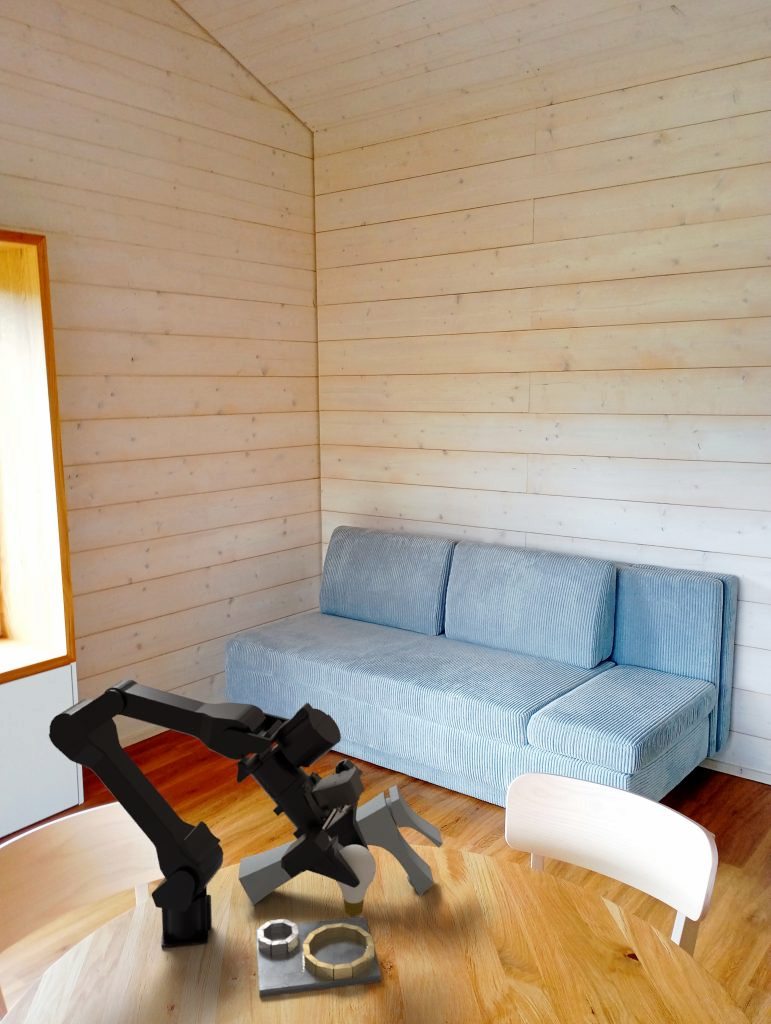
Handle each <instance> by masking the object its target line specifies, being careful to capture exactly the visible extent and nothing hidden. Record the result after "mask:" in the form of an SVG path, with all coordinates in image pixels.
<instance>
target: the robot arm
mask: <svg viewBox="0 0 771 1024" xmlns="http://www.w3.org/2000/svg"><path fill="white" fill-rule="evenodd" d="M118 715H119V716H124V717H128V718H129V719H134V720H137V721H141V722H144V723H147V724H150V725H154V726H157V727H161V728H165V729H168V730H171V731H175V732H179V733H181V734H185V735H189V736H191V737H194V738H196V739H198V740H200V742H202V744H204V746H205V747H206V748H208V750H209V751H212V752H213V753H214V752H215V753H217V754H218V755H220V756H223V757H225V758H226V759H229V760H233V761H237V772H236V773H237V774H236V782H237V783H239V784H240V783H242V782H243V781H245V780H246V779H247V778H248V777H249V776H251V777H252V778H253V779H254V780H255V781H256V783H257V784H258V785H259V786H260V787H261V788H262V790H263V791H264V792H265V794H267V796H268V797H269V798H270V799H271V800H272V801H273V802H274V803H275V804H276V805H275V807H274V808H273V809H272V812H274V814H275V815H276V817H279V816H280V815H281V814H282V813H283V814H284V815H285V816H286V817H287V819H288V820H289V821H290V822H291V824H292V825H293V826H294V827H295V830H294V831H293V833H292V835H293V836H294V837H295V840H296V839H297V840H296V841H295V842H293V843H292V844H291V845H290V846H289V848H288V849H287V851H286V852H285V854H284V855H283V857H282V858H281V868H282V869H283V870H284V871H285V873H286V874H287V875H288V876H289V877H290V879H291V880H292V879H294V878H296V877H297V876H298V875H297V874H299V873H300V872H301V871H302V873H305V872H307V871H308V872H311V873H314V874H316V875H317V874H318V875H321V876H323V877H326V878H329V879H331V880H334V881H335V882H336V881H338V882H341V883H343V884H346V885H348V886H351V887H353V888H355V887H357V886H358V885H359V884H360V881H359V879H358V878H357V876H356V874H355V873H354V871H353V870H352V869H351V867H350V866H349V864H348V863H347V862H346V860H345V859H344V857H343V856H342V855H341V853H340V852H339V850H338V843H339V844H340V845H341V846H343V847H346V846H349V845H361V846H363V847H365V848H367V849H368V850H369V851H370V849H369V847H368V846H369V845H367V844H366V842H365V840H364V837H363V835H362V833H361V831H360V828H359V826H358V823H357V820H356V812H357V808H358V805H359V800H361V795H362V793H364V792H365V790H366V788H365V786H364V783H363V781H362V779H361V778H362V775H363V774H364V773H363V771H362V770H361V769H360V768H359V767H358V765H356V764H355V763H353V762H352V761H351V759H349V758H347V757H346V758H344V759H342V760H341V759H340V760H339V761H338V762H337V764H336V765H335V771H334V772H332V773H330V775H329V776H326V777H324V778H322V777H321V776H320V775H319V773H318V772H314V771H311V772H310V773H309V774H308V773H307V771H305V770H304V768H309V767H312V766H313V765H314V764H315V763H316V762H317V761H318V760H319V759H321V758H322V757H323V756H325V754H327V753H328V752H330V751H331V750H332V749H333V748H334V747H336V745H338V744H339V743H340V742H341V738H342V733H341V731H340V728H339V726H338V724H337V723H336V721H335V720H334V719H333V717H332V716H331V715H330V714H327V713H326V712H325V711H322V710H321V709H319V708H314V707H312V705H311V704H310V703H308V702H306V703H305V704H303V705H302V706H301V707H300V708H299V710H298V711H297V712H295V714H294V715H293V716H292V717H291V718H290V719H289V718H286V717H282V716H278V715H274V714H272V713H271V714H270V713H267V712H264V710H263V709H261V707H258V706H257V705H254V704H250V703H241V702H240V703H239V702H221V703H210V702H209V703H207V702H203V701H200V700H198V699H197V700H196V699H194V698H190V697H186V696H183V695H179V694H176V693H172V692H168V691H165V690H161V689H158V688H154V687H151V686H147V685H144V684H139V683H138V682H137V681H135V680H133V679H122V680H120V681H119V682H117V683H115V684H114V685H112V686H111V687H109V688H107V689H106V690H105V691H104V692H103V694H101V695H99V696H98V697H96V698H94V699H93V698H84V699H81V700H80V701H78V702H76V703H75V704H74V705H71V706H70V707H69V708H67V709H66V710H63V711H62V712H60V713H59V714H56V716H54V717H53V719H52V720H51V722H50V724H49V733H48V737H49V738H48V739H49V740H50V742H51V743H52V745H53V746H54V747H55V748H56V750H58V751H59V752H60V753H62V755H64V756H65V757H66V758H67V759H68V760H69V761H70V762H73V763H76V764H79V765H81V766H84V767H86V768H88V769H90V770H91V771H92V772H93V773H94V774H95V775H96V776H97V778H99V780H100V781H101V783H102V784H103V785H104V787H106V788H107V790H108V791H109V792H110V794H111V795H112V796H113V797H114V798H115V800H116V801H117V802H118V803H119V805H120V806H121V807H122V808H123V809H124V810H125V812H126V813H127V814H128V815H129V817H130V818H131V820H133V821H134V823H135V824H136V825H137V826H138V827H139V828H140V830H141V831H142V833H143V834H144V835H145V836H146V838H147V839H149V841H150V842H151V843H152V844H153V847H154V848H155V851H156V856H157V857H156V858H157V860H158V866H159V870H160V872H161V874H162V875H163V877H164V879H163V880H162V881H161V882H160V883H159V884H158V886H157V887H155V889H154V890H153V891H152V892H151V897H152V901H153V903H154V905H155V907H156V908H160V909H161V922H162V923H161V925H162V926H161V927H162V935H161V942H160V944H161V947H162V948H163V949H164V948H165V949H166V948H172V947H173V948H174V947H180V946H181V947H182V946H188V945H189V946H190V945H197V944H198V945H201V944H206V943H208V942H209V932H211V931H212V928H213V926H212V925H213V915H212V914H213V913H212V895H211V894H209V893H208V889H207V888H208V885H209V883H210V882H211V881H212V879H213V878H214V877H215V876H216V874H218V872H219V870H220V869H221V868H222V865H223V863H224V851H223V848H222V847H221V845H220V844H219V843H220V842H221V839H220V838H218V837H217V836H215V835H214V833H213V832H212V831H211V830H210V828H209V827H208V824H206V823H205V822H204V821H203V820H201V821H199V822H198V823H197V824H196V825H193V824H191V823H188V822H186V821H184V820H182V818H181V817H180V816H179V815H178V813H176V811H175V810H174V808H172V806H171V805H170V804H169V803H168V802H167V801H166V799H165V797H163V795H162V794H161V793H160V791H158V789H157V788H156V787H155V785H154V784H153V783H152V782H151V781H150V779H148V777H147V776H146V775H145V774H144V773H143V771H142V770H141V769H140V768H139V766H137V764H136V763H135V762H134V760H132V758H131V756H129V754H128V753H127V752H126V751H125V749H124V748H123V747H122V745H121V742H120V739H119V734H118V729H117V725H116V723H115V721H114V719H113V718H115V717H117V716H118ZM274 743H276V745H274ZM272 745H274V746H272ZM252 754H253V755H252ZM249 755H252V756H249ZM238 760H239V761H238ZM328 836H329V837H330V838H332V840H331V839H330V838H329V837H328ZM296 875H297V876H296ZM299 875H300V874H299ZM295 876H296V877H295Z"/></svg>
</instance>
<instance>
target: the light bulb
mask: <svg viewBox="0 0 771 1024" xmlns="http://www.w3.org/2000/svg"><path fill="white" fill-rule="evenodd" d="M368 849H369V848H368ZM368 849H367V848H365V847H363V846H361V845H349V846H346V847H344V848H343V849H341V850H340V851H339V852H340V853H341V855H342V856H343V857H344V859H345V860H346V862H347V863H348V864H349V866H350V867H351V869H352V870H353V871H354V873H355V874H356V876H357V878H358V879H359V881H360V884H359V885H358V886H357V887H355V888H353V887H351V886H348V885H346V884H343V883H341V882H338V881H336V880H335V882H336V883H337V884H338V886H339V888H340V890H341V895H342V898H343V911H344V914H346V915H348V916H349V917H350V918H355V917H357V916H359V915H361V914H362V913H363V911H364V901H365V899H364V898H365V896H366V894H367V890H368V888H369V887H370V885H371V884H372V882H373V881H374V879H375V877H376V872H377V864H376V859H375V857H374V856H373V853H372V852H371V851H370V849H369V850H368Z"/></svg>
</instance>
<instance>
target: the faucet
mask: <svg viewBox="0 0 771 1024" xmlns="http://www.w3.org/2000/svg"><path fill="white" fill-rule="evenodd" d="M388 793H389V797H387V796H386V794H385V792H384V791H382V792H380V793H379V794H378V795H376V796H375V797H373V798H372V799H370V800H368V801H367V802H366V803H364V804H362V805H361V806H359V807H357V812H356V820H357V823H358V826H359V828H360V831H361V833H362V835H363V837H364V840H365V842H366V844H367V846H374V847H375V846H376V847H379V848H382V849H383V850H386V851H387V852H388V853H390V854H391V855H392V856H393V857H394V858H395V859H396V860H397V862H398V863H399V864H400V866H401V867H402V868H403V870H404V871H405V873H406V874H407V876H406V879H407V882H408V883H409V885H410V886H411V888H414V889H415V891H416V892H417V894H418V895H419V896H422V895H423V894H424V893H426V891H427V890H428V889H430V888H431V886H433V885H434V884H435V881H434V877H433V873H432V869H431V866H430V865H429V863H427V862H426V861H425V860H424V859H423V858H422V857H421V856H420V855H419V854H418V853H417V852H416V851H415V850H414V848H412V846H411V845H410V844H409V842H408V841H407V840H406V839H405V838H404V837H403V835H402V833H401V831H400V830H399V829H400V828H410V829H413V830H415V831H416V832H418V833H420V834H421V835H422V836H424V837H426V838H427V839H428V840H429V841H430V842H431V843H432V844H434V845H435V846H436V847H437V848H438V849H440V847H442V845H443V844H444V843H443V839H442V835H441V832H440V829H439V828H438V827H437V826H435V825H434V824H432V823H430V822H429V821H427V820H426V819H425V818H424V817H422V816H421V815H420V814H419V813H417V812H416V811H415V810H414V809H413V808H412V807H411V806H410V805H409V804H408V803H407V801H406V800H405V798H404V796H403V794H402V793H401V790H399V787H398V785H397V784H395V785H393V786H391V787H389V788H388ZM328 837H329V836H328ZM329 838H330V837H329ZM330 839H331V840H332V838H330ZM296 840H297V838H295V839H293V840H291V841H289V842H286V843H284V844H282V845H279V846H277V847H274V848H271V849H268V850H266V851H262V852H260V853H259V852H258V853H256V854H252V855H249V856H245V857H241V859H240V863H239V866H238V867H239V868H238V880H239V883H240V885H241V887H242V888H243V891H244V892H245V893H246V896H247V897H248V899H249V901H250V902H251V904H252V906H255V905H257V904H258V903H260V901H261V900H263V899H264V898H265V897H266V896H268V895H269V894H270V893H272V892H274V891H275V890H277V889H278V888H279V887H281V886H283V885H285V884H287V883H288V882H289V881H291V880H292V879H290V877H289V876H288V875H287V874H286V873H285V871H284V870H283V869H282V868H281V858H282V857H283V855H284V854H285V852H286V851H287V849H288V848H289V846H290V845H291V844H292V843H293V842H295V841H296ZM343 848H344V847H343V846H341V845H340V844H339V843H338V850H339V851H340V850H341V849H343ZM302 873H303V872H302V871H301V872H300V873H299V874H297V875H296V876H295V877H294V878H296V877H297V876H299V875H300V874H302Z"/></svg>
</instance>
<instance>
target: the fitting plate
mask: <svg viewBox="0 0 771 1024" xmlns="http://www.w3.org/2000/svg"><path fill="white" fill-rule="evenodd" d="M255 942H256V943H255V944H256V945H255V946H256V960H257V961H256V962H257V976H258V978H257V979H258V993H259V994H258V995H259V998H265V997H271V996H272V997H273V996H280V995H288V994H297V993H303V992H310V991H311V992H312V991H320V990H326V989H328V990H329V989H334V988H340V987H341V988H342V987H350V986H356V985H357V986H359V985H367V984H374V983H375V984H376V983H381V982H382V981H381V979H382V974H381V971H380V968H379V964H378V959H377V957H376V952H375V944H374V941H373V937H372V935H371V934H370V930H369V927H368V922H367V919H366V916H364V915H363V916H358V917H357V916H355V917H350V918H349V917H347V918H340V919H339V918H338V919H329V920H322V921H321V920H320V921H313V922H312V921H311V922H303V923H295V922H292V921H290V920H289V919H285V918H281V919H271V920H269V921H266V922H265V923H263V924H262V925H261V926H260V927H258V928H255Z"/></svg>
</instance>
